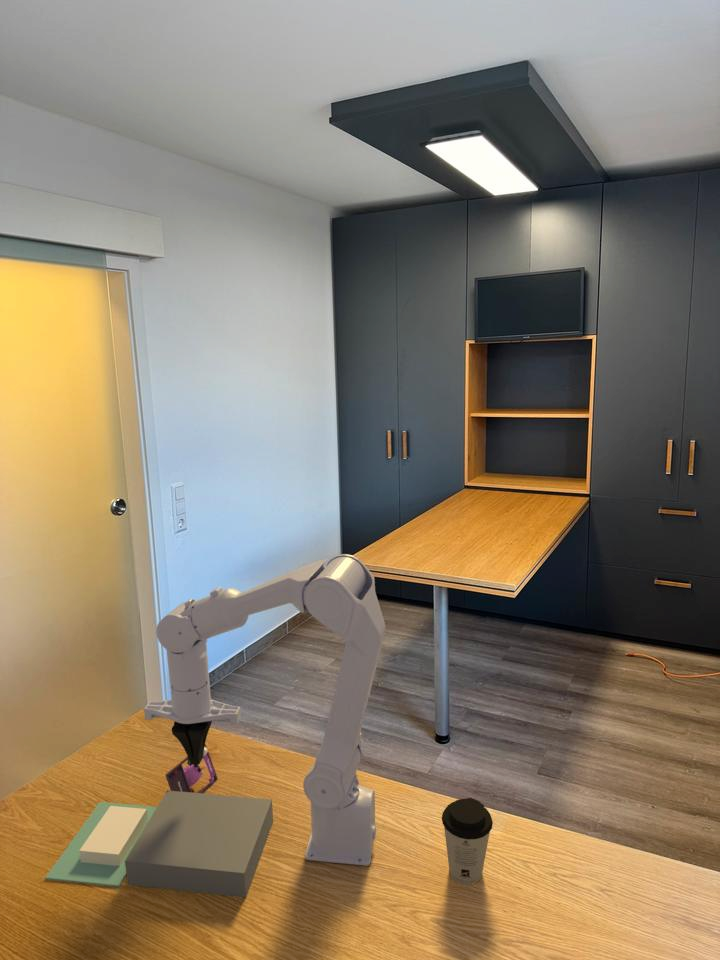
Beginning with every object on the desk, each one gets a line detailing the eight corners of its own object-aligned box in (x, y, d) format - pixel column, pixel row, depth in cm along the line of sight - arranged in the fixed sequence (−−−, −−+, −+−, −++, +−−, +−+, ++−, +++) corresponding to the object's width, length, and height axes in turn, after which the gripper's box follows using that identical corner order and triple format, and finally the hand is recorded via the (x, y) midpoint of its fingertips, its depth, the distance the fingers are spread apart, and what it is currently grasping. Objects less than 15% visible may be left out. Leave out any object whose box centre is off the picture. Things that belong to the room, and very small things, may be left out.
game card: (169, 774, 104) (208, 743, 112) (148, 774, 107) (187, 743, 115) (183, 813, 105) (221, 779, 112) (161, 812, 107) (199, 779, 115)
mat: (164, 809, 106) (164, 807, 106) (119, 887, 92) (118, 885, 92) (100, 803, 108) (100, 801, 107) (45, 879, 93) (45, 877, 93)
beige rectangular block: (110, 805, 104) (111, 816, 104) (79, 850, 95) (80, 862, 96) (146, 809, 103) (148, 819, 103) (118, 854, 94) (120, 866, 95)
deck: (273, 821, 103) (271, 799, 102) (246, 897, 90) (244, 873, 89) (169, 811, 105) (167, 790, 104) (127, 884, 92) (124, 860, 91)
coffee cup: (472, 901, 89) (474, 838, 86) (430, 872, 93) (431, 811, 91) (500, 869, 93) (503, 809, 91) (459, 843, 98) (461, 786, 96)
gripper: (244, 669, 102) (249, 746, 105) (154, 665, 104) (162, 741, 107) (230, 695, 95) (236, 776, 99) (134, 690, 97) (143, 770, 100)
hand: (197, 760), depth 102 cm, fingers closed
